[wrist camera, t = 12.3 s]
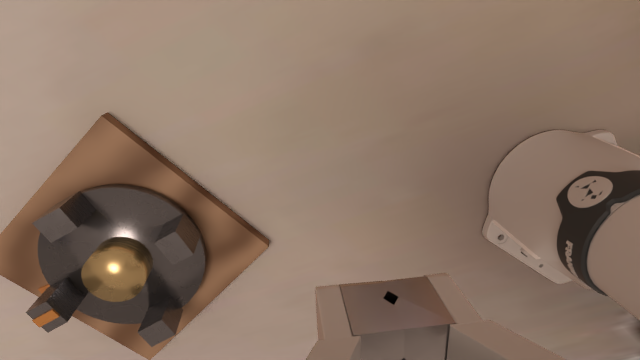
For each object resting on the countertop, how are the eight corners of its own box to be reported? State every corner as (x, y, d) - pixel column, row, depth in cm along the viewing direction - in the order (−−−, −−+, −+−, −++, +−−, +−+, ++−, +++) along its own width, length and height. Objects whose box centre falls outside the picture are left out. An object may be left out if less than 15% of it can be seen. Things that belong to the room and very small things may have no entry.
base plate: (268, 239, 46) (268, 247, 45) (153, 351, 50) (148, 362, 49) (107, 112, 39) (100, 116, 37) (-14, 254, 43) (-25, 263, 41)
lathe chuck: (144, 152, 39) (125, 170, 34) (237, 275, 46) (233, 305, 41) (3, 232, 41) (-34, 260, 36) (113, 340, 47) (94, 377, 42)
